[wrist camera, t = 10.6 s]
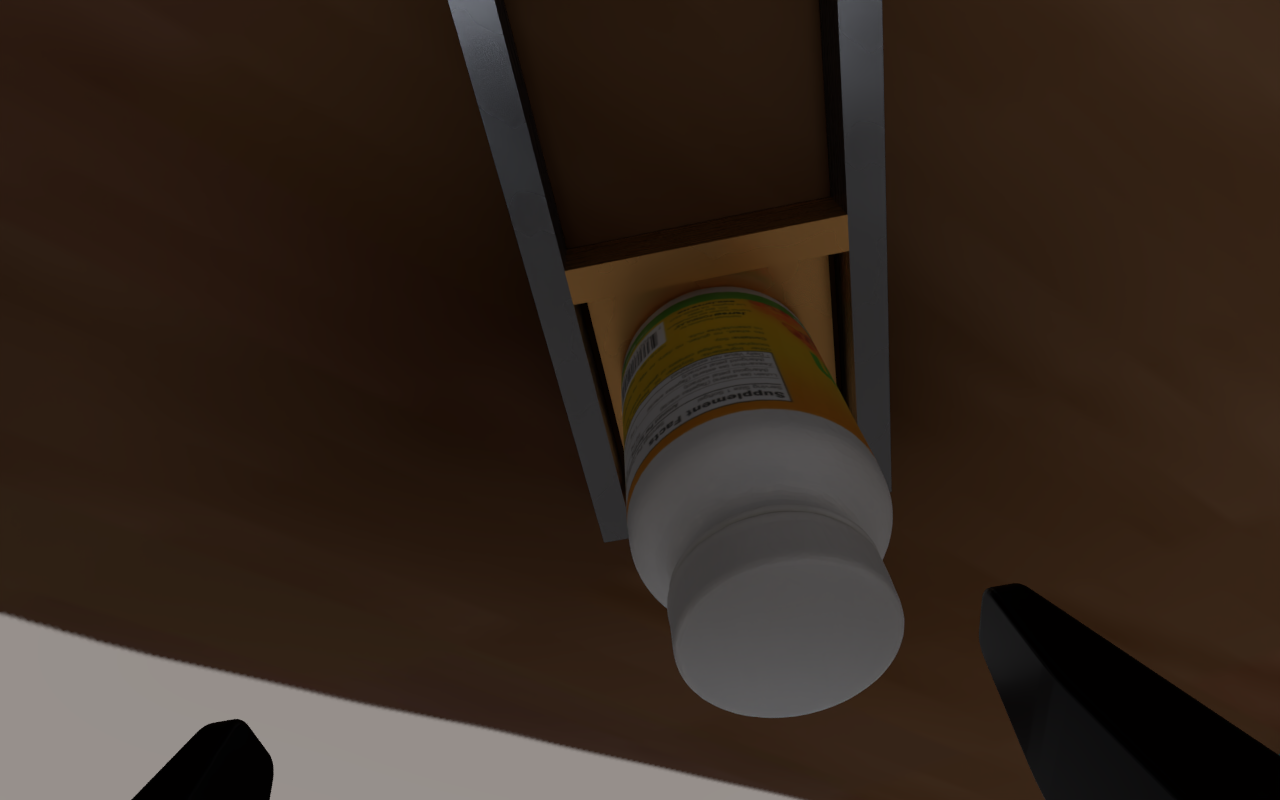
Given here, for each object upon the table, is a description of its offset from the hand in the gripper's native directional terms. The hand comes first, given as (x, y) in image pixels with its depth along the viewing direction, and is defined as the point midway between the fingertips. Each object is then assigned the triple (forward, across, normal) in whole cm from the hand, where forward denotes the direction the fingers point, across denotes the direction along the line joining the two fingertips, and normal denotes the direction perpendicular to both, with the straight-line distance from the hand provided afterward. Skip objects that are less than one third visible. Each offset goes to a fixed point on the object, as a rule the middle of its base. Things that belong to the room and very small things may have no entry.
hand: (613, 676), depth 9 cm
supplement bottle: (+12, -3, +3) cm, 13 cm away
